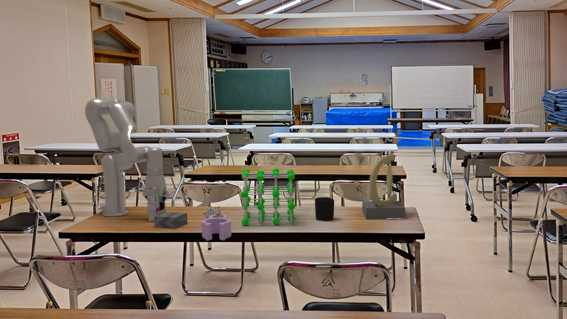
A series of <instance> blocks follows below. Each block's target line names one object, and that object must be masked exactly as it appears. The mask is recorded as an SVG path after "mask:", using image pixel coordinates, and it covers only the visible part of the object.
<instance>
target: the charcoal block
mask: <svg viewBox="0 0 567 319" xmlns="http://www.w3.org/2000/svg"><path fill="white" fill-rule="evenodd" d="M154 218H155V221H154V227H155V228H161V229H162V228H164V229H165V228H166V229H174V230H175V229H178V228H180V227H182V226H185V225H187V224H188V212H177V211H176V212H175V211H166V212H165V213H162V214H160V215H157V216H154Z"/></svg>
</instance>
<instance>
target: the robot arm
mask: <svg viewBox="0 0 567 319" xmlns="http://www.w3.org/2000/svg"><path fill="white" fill-rule="evenodd" d="M136 113H137V109H136V107H135V105H134V104H133V103H132V102H129V101H126V100H123V99H118V98H117V97H116V98H115V97H96V98H92V99H90V100H88V101H87V103H86V105H85V108H84V115H85V117H86V118H85V119H86V120H87V123H88V125H89V126H90V128H91V130H92V134H93V137H94V139H95V142H96V145H97V148H98V149H99V151H101V152H106V154H105V155H104V156H102V158H101V161H100V165H101V169H102V174H103V181H104V182H103V184H104V202H105V204H104V205H101V206H100V207H99V210H101V211H103V212H102V216H103V217H123V216H126V215H128V214H129V210H127V209H125V208H126V207H125V205H126V204H125V203H126V201H125V184H124V178H123V177H124V176H123V175H122V173H121V171H126V170H129V169H132V167H133V166H134V164H137V163H139V164H140V163H145V162H146V169H145V171H144V172H145V174H147V175H145V177H144V178H145V179H144V189H143V190H144V191H143V192H142V193H141V194H142V196H143V197H144V198H145V200H147V188H149V187H157V188H158V197H159V199H160V203H159V204H160V210H163V209H164V207H165V208H166V204H165V205H164V201H165V202H166V200H167V199H168V198H169V197H170V196H171V194H170V193H169V191H168V190H167V183H166V182H167V181H166V177H165V175H164V169H163V168H164V167H163V166H164V165H163V150H162V148H161V147H159V146H158V147H156V146H155V147H153V146H148V145H147V146H146V145H145V146H137V147H136V146H135V145H134V144H133V142H132V140H131V135H132V134H134V132H136V130H137V125H136V124H135V122H134V120H133V118H135V116H136ZM102 115H103V116H104V115H105V116H106V115H109V116H110V118H111V120H112V121H113V123H114V124H115V126H116V128H117V130H118V131H116V132H115V131H112V130H111V128H110V125H109V123H108V122H107V120H106V119H105V118H104V117H103V116H102ZM113 151H114V152H113ZM107 152H109V153H107ZM164 195H165V197H164Z"/></svg>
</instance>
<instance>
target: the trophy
mask: <svg viewBox="0 0 567 319" xmlns="http://www.w3.org/2000/svg"><path fill="white" fill-rule="evenodd" d="M396 157H397V154H393V153H392V154H387V155H384V156H382V157H381V158H379V159H378V160H377V161H376V162H375V163H374V165H373V167H372V170H371V172H370V175H369V184H368V186H369V194H370V199H371V200H362V201H361V202H362V203H361V204H362V205H361V206H362V208H361V210H362V213H363V217H364V218H365V220H388V219H387V218H405V219H406V206H404V205H403V204H402V202H401V201H400V200H397V199H398V196H397V193H393V191H392V190H393V168H392V165H391V162H392V161H393V162H395V160H396ZM387 162H388V165H387V169H386V189H387V194H388V198H387V199H385V200H384V199H383V200H382V199H381V198H380V197H379V194H378V188H377V187H378V186H377V180H378V174H379V171H380V169H381V168H382V166H383V165H384V164H386V163H387ZM392 193H393V195H392ZM381 218H382V219H381Z"/></svg>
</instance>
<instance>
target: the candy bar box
mask: <svg viewBox="0 0 567 319" xmlns="http://www.w3.org/2000/svg"><path fill="white" fill-rule="evenodd" d="M165 196H166V195H164V197H165ZM146 201H147V202H146V203H147V219H148V221H147V222H155V218H154V216H157V215H160V214H162V213H165V212H167V211H166V200H165V201H164V205H165V207H164V209H163V210H160V204H159V203H160V199H159V197H158V188H157V187H149V188H147V199H146Z"/></svg>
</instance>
